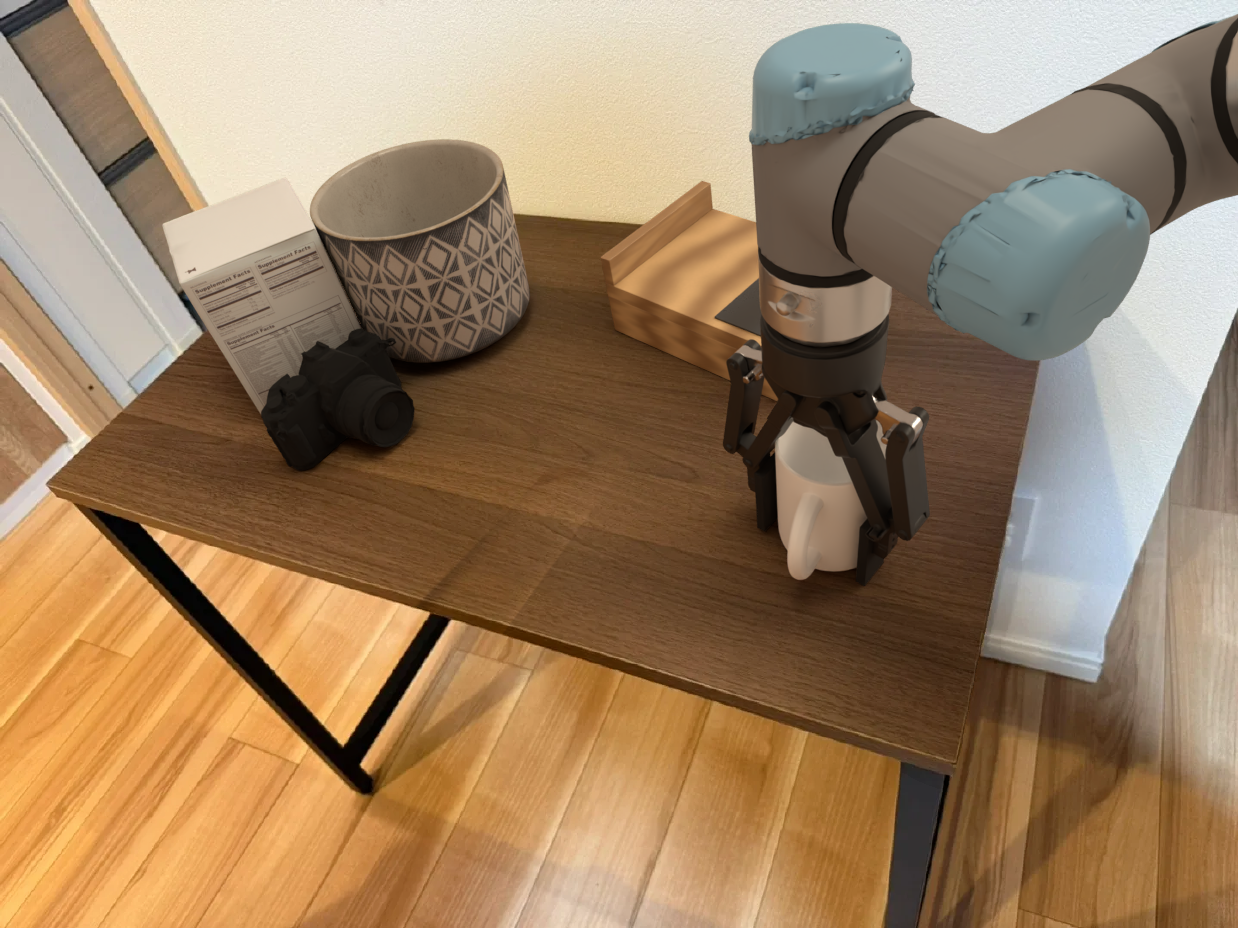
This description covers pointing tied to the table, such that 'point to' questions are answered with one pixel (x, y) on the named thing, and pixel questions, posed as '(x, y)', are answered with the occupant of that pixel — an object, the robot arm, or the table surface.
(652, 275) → the shelf
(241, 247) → the supplement box
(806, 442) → the mug
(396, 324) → the planter
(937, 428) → the table surface
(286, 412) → the film camera
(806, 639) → the table surface
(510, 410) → the table surface
